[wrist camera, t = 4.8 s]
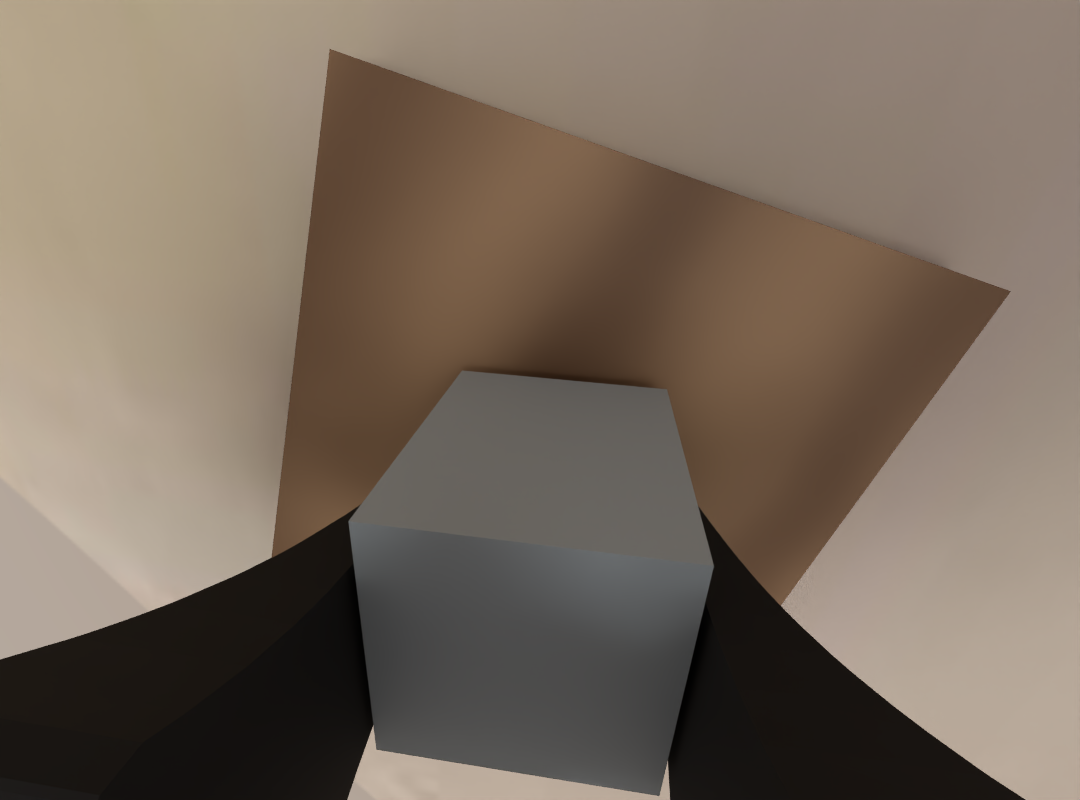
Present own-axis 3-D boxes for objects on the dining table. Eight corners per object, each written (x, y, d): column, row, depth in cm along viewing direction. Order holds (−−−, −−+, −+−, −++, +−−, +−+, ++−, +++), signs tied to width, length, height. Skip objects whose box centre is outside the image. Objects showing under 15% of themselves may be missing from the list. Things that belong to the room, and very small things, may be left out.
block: (667, 389, 11) (714, 566, 6) (640, 555, 13) (659, 795, 8) (461, 370, 12) (348, 521, 6) (464, 533, 13) (376, 749, 8)
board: (949, 272, 12) (1010, 291, 10) (690, 660, 18) (699, 715, 16) (373, 67, 12) (329, 49, 10) (304, 529, 18) (270, 571, 16)
